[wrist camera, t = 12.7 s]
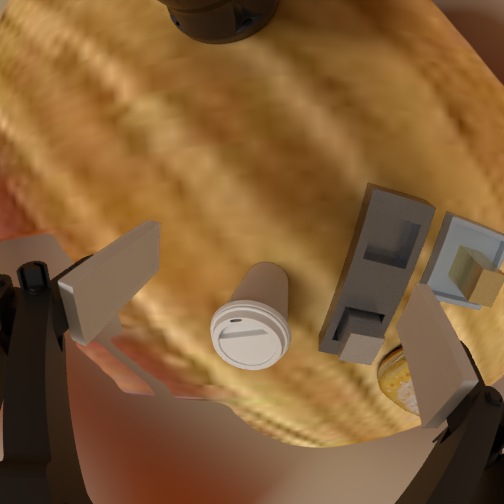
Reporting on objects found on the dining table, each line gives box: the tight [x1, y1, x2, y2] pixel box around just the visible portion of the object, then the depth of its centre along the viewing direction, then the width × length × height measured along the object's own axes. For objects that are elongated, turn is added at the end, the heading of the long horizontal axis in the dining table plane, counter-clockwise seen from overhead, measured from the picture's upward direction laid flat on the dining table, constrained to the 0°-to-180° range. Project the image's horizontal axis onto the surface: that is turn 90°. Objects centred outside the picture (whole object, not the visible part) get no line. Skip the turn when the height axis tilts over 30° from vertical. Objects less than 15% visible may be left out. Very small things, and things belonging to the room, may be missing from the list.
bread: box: [377, 347, 420, 417], centre depth 43 cm, size 13×26×8 cm, turn 58°
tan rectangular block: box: [448, 245, 504, 307], centre depth 32 cm, size 5×5×8 cm
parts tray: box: [420, 211, 504, 310], centre depth 36 cm, size 13×13×2 cm
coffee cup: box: [211, 262, 291, 370], centre depth 38 cm, size 10×10×15 cm
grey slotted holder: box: [318, 183, 436, 355], centre depth 39 cm, size 26×9×4 cm, turn 171°
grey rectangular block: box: [337, 306, 385, 365], centre depth 39 cm, size 5×5×8 cm
